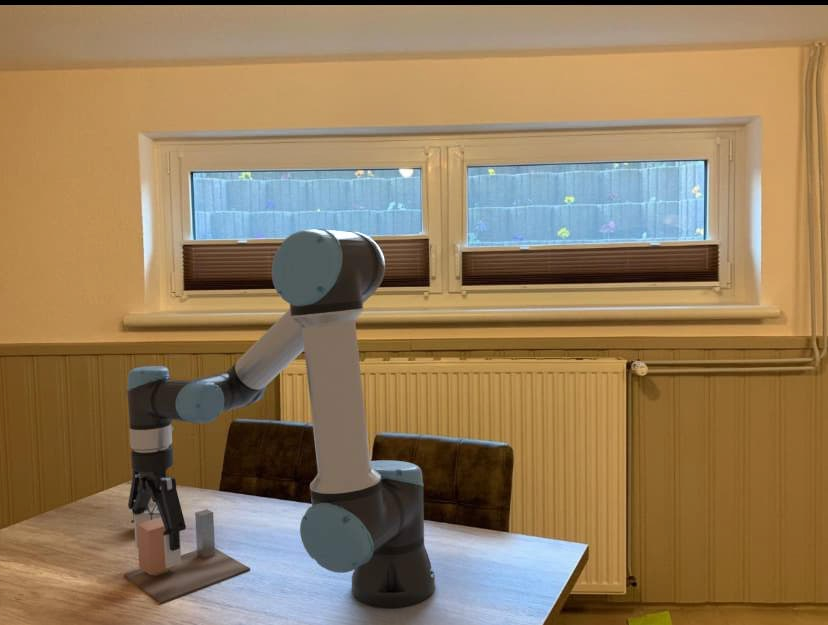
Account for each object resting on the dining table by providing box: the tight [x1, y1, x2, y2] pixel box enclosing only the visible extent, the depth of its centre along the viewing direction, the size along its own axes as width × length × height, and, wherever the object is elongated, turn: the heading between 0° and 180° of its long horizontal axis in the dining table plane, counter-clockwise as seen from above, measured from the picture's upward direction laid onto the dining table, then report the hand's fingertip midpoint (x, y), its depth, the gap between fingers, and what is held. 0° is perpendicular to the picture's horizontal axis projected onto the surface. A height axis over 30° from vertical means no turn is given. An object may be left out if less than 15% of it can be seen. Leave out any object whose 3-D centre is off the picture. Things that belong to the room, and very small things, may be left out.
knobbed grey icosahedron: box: [128, 498, 161, 524], centre depth 155 cm, size 9×8×10 cm
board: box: [123, 547, 251, 605], centre depth 131 cm, size 16×18×1 cm
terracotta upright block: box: [137, 517, 177, 575], centre depth 131 cm, size 5×5×9 cm
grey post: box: [194, 509, 216, 559], centre depth 138 cm, size 3×3×9 cm
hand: (157, 555), depth 131 cm, fingers open, 13 cm apart
